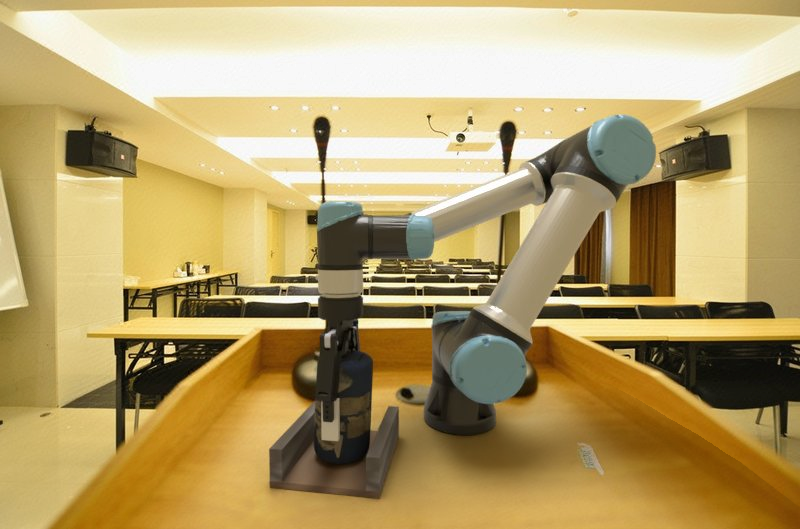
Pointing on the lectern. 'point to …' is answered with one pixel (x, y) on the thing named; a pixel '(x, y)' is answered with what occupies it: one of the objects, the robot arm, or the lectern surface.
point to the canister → (349, 411)
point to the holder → (308, 472)
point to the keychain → (589, 458)
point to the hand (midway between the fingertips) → (341, 423)
